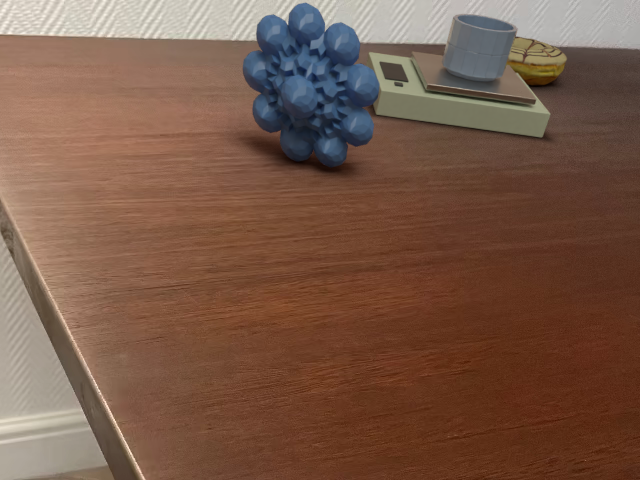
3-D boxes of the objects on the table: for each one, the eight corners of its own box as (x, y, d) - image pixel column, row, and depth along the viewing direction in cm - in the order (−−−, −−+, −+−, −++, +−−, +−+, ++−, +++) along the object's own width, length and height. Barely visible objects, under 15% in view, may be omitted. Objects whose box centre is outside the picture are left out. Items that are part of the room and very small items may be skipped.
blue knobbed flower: (213, 158, 66) (230, -1, 59) (244, 135, 71) (263, -14, 64) (348, 196, 63) (383, 34, 56) (370, 169, 69) (405, 17, 61)
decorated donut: (511, 59, 105) (521, 29, 103) (575, 86, 99) (587, 54, 96) (453, 62, 100) (462, 30, 98) (517, 91, 94) (528, 56, 91)
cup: (494, 69, 87) (509, 19, 84) (507, 87, 82) (524, 35, 79) (436, 60, 87) (449, 10, 84) (445, 78, 82) (460, 25, 79)
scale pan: (507, 70, 90) (509, 65, 89) (534, 105, 80) (536, 99, 80) (410, 56, 89) (411, 51, 89) (425, 90, 80) (427, 83, 79)
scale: (510, 94, 92) (518, 71, 91) (542, 137, 81) (551, 111, 80) (364, 73, 91) (369, 49, 90) (375, 114, 80) (381, 88, 79)
